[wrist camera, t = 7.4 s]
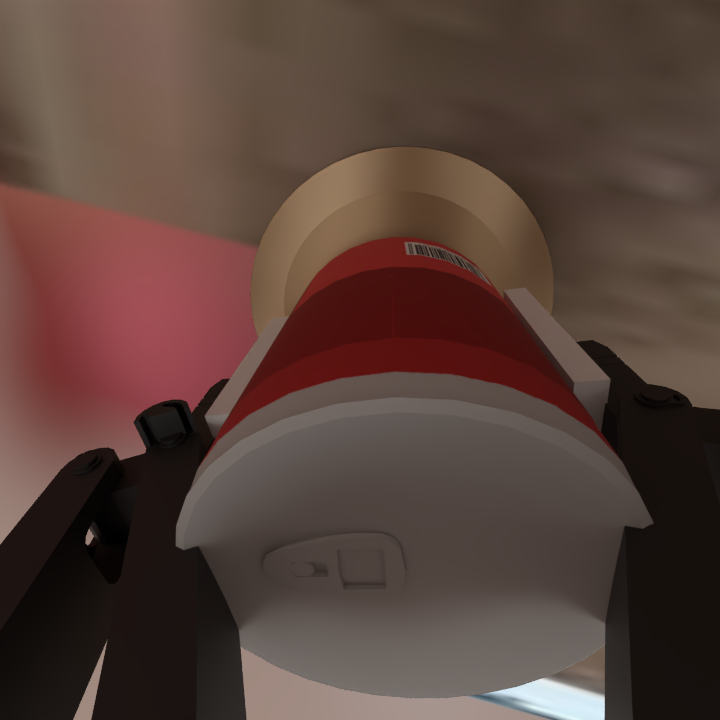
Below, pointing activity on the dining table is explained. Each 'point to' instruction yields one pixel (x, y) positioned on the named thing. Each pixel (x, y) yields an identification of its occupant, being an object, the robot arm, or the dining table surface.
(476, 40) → the dining table surface
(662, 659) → the robot arm
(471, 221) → the disc
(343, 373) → the canned food
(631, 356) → the dining table surface
